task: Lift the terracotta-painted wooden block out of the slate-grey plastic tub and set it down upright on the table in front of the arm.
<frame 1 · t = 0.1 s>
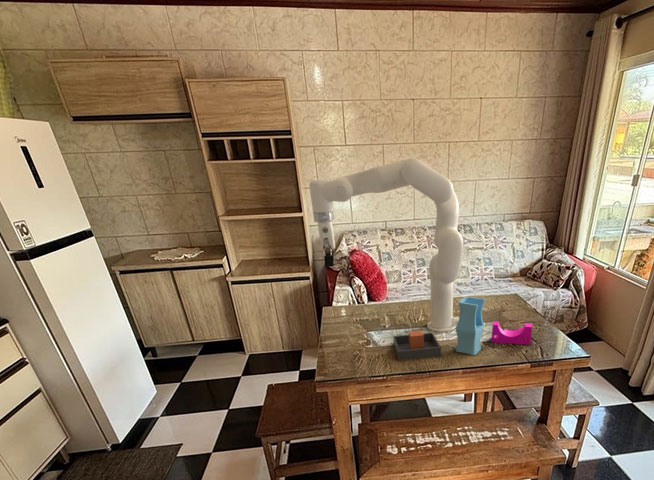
hand: (329, 263, 159), 31 cm above the table, tool pointing down, fingers open, 9 cm apart
toy block: (510, 340, 165), on the table
vase: (468, 350, 158), on the table
wooden block: (416, 349, 159), resting on tub
tub: (416, 350, 159), on the table
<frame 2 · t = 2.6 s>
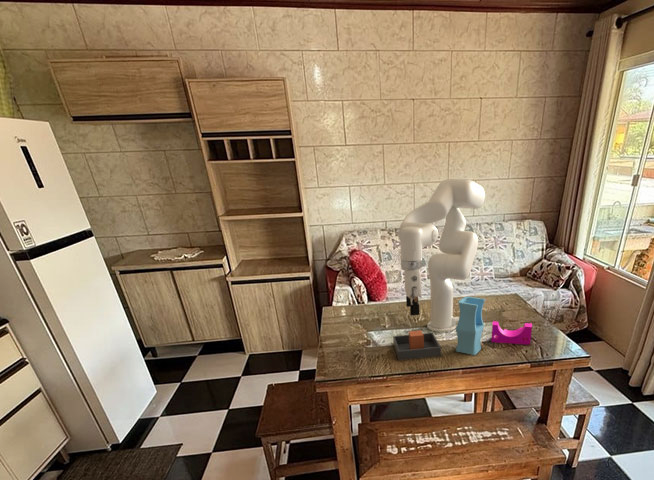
hand: (412, 310, 151), 17 cm above the table, tool pointing down, fingers open, 9 cm apart
nothing on the table moved.
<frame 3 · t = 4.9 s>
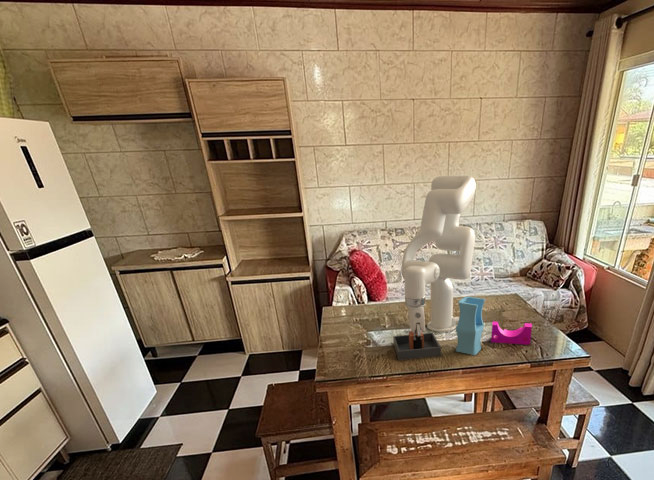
hand: (416, 345, 158), 2 cm above the table, tool pointing down, fingers closed on wooden block, 5 cm apart
wooden block: (416, 349, 159), resting on tub, touching gripper
everything else where it was.
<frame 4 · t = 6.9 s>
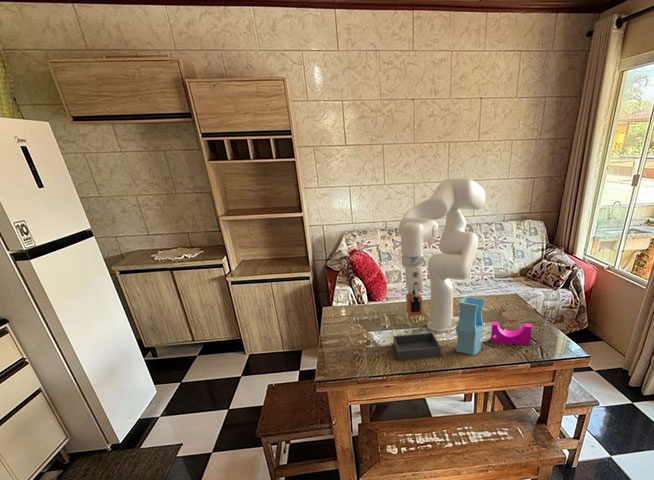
hand: (414, 308, 152), 17 cm above the table, tool pointing down, fingers closed on wooden block, 5 cm apart
wooden block: (414, 313, 153), point 15 cm above the table, touching gripper
everything else where it was.
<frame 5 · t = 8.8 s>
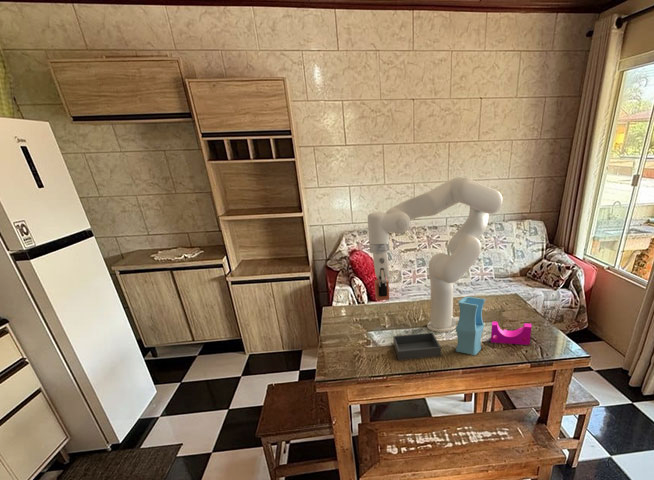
hand: (382, 293, 163), 19 cm above the table, tool pointing down, fingers closed on wooden block, 5 cm apart
wooden block: (382, 298, 164), point 17 cm above the table, touching gripper
everything else where it was.
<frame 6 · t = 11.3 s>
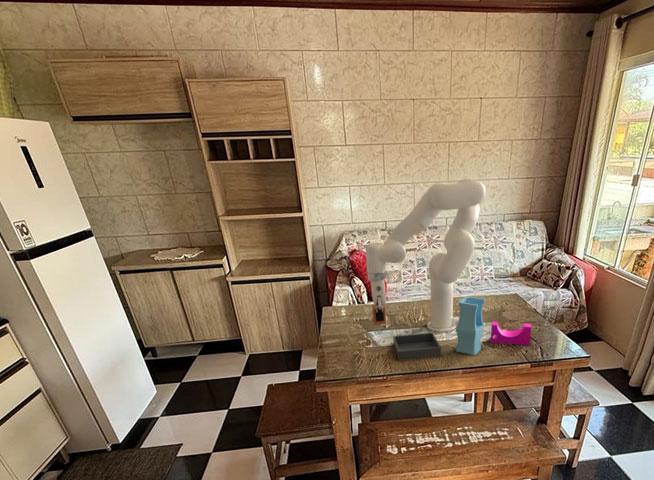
hand: (379, 318, 171), 8 cm above the table, tool pointing down, fingers closed on wooden block, 5 cm apart
wooden block: (379, 322, 171), point 6 cm above the table, touching gripper
everything else where it was.
when the fingers open (2 cm above the table, at t = 13.1 s): wooden block stays where it is, on the table.
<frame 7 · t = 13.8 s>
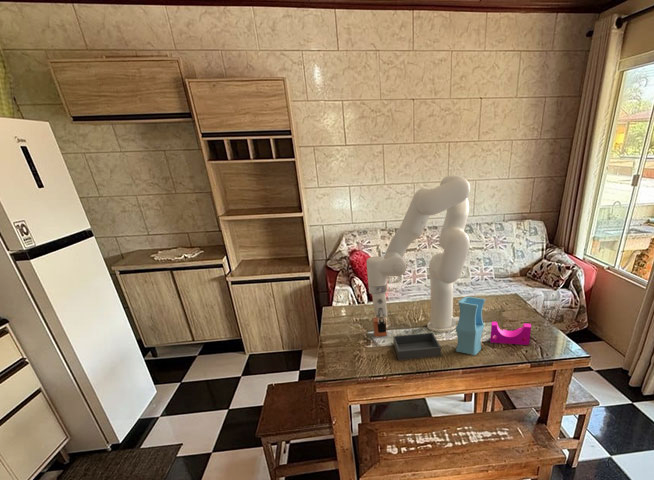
hand: (380, 327, 173), 3 cm above the table, tool pointing down, fingers open, 9 cm apart
wooden block: (380, 334, 174), on the table
everything else where it was.
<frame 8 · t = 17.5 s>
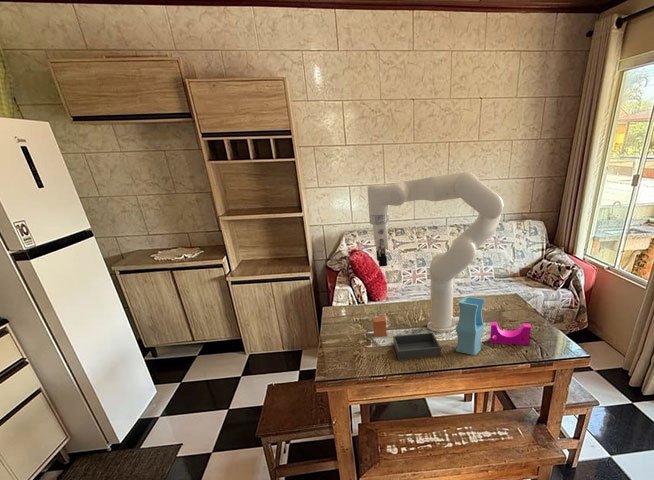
hand: (381, 263, 168), 28 cm above the table, tool pointing down, fingers open, 9 cm apart
nothing on the table moved.
at the end: wooden block inside the target area (0.3 cm from its centre), on the table; wooden block touching table; wooden block tilted 0° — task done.
